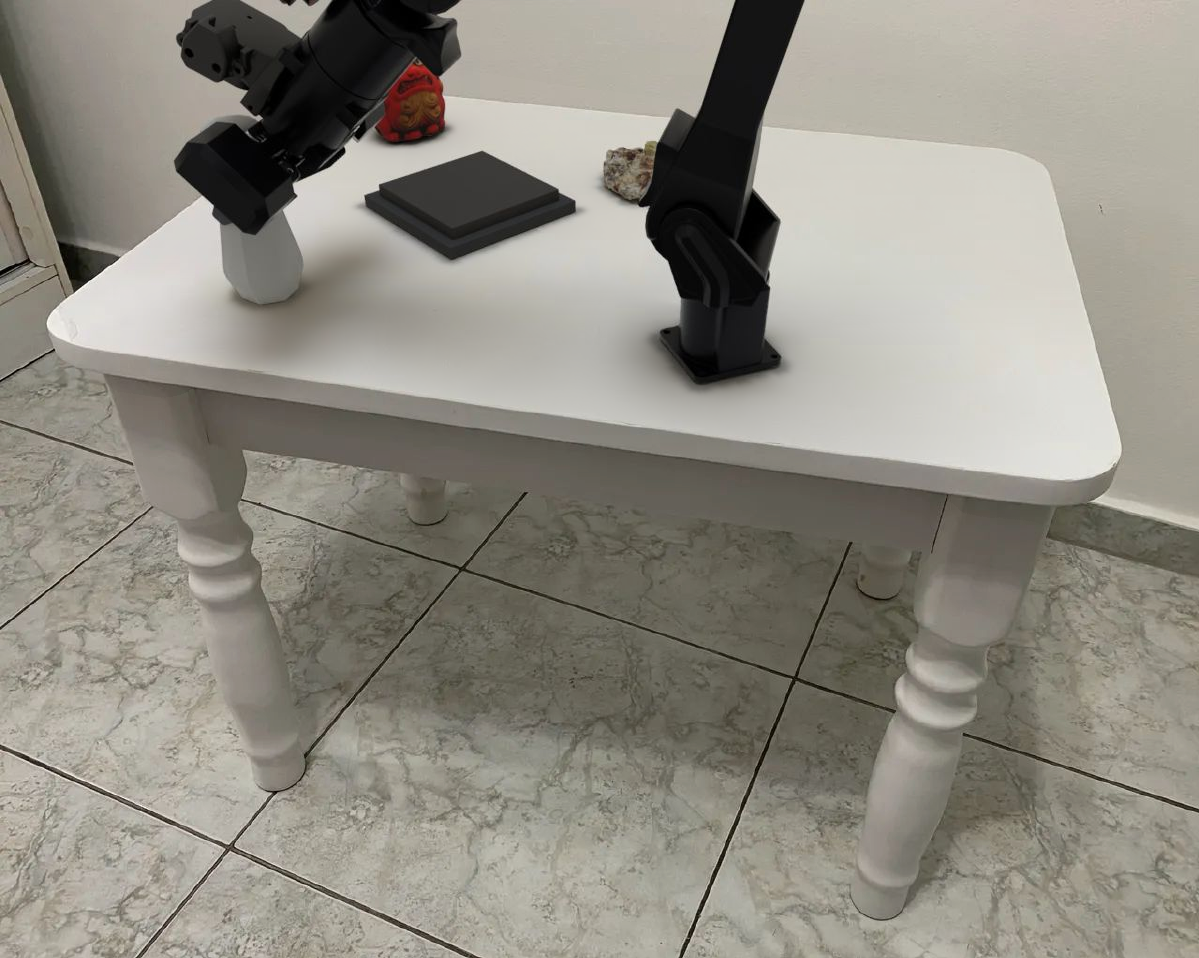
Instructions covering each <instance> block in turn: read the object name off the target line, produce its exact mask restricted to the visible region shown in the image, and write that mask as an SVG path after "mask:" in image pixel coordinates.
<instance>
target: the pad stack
mask: <svg viewBox="0 0 1199 958" xmlns="http://www.w3.org/2000/svg"><path fill="white" fill-rule="evenodd" d="M363 196H364V203H365V206H366V207H367V208H369V209H371V210H372V211H374V212H375V213H377V214H378V215H380V216H381V217H383V218H385V219H386V220H388V221H389V222H391V223H393V224H394V225H396V226H398V227H399V228H400V229H402V230H403V231H405V232H407V233H408V234H410V235H412V236H413V237H415V238H416V239H418V240H420V241H422V242H423V243H424V244H426V245H427V246H429V247H431V248H433V249H434V250H436V251H437V252H439V253H441V254H442V255H444V256H445V257H447V258H448V259H450V260H453V259H457V258H459V257H462V256H464V255H467V254H469V253H472V252H474V251H477V250H479V249H482V248H485V247H488V246H490V245H493V244H495V243H498V242H500V241H503V240H506V239H509V238H510V237H514V236H516V235H518V234H521V233H524V232H526V231H528V230H531V229H534V228H537V227H539V226H542V225H544V224H547V223H549V222H552V221H555V220H557V219H559V218H562V217H565V216H567V215H571V214H572V213H575V212H576V211H577V205H576V203H577V201H576V200H575V199H573V198H571V197H569V196H567V195H566V194H563V193H561V192H560V189H559V188H558V187H555V186H553V185H552V184H550V183H547V182H546V181H544V180H542V179H539V178H537V177H535V176H533V175H532V174H530V173H528V172H526V171H524V170H522V169H520V168H517V167H516V166H514V165H512V164H509V163H508V162H507V161H504V160H501V159H500V158H499V157H496V156H494V155H492V154H490V153H488V152H486V151H484V150H480V151H477V152H474V153H470V154H467V155H465V156H461V157H458V158H455V159H452V160H450V161H446V162H443V163H440V164H437V165H434V166H431V167H428V168H424V169H421V170H419V171H415V172H412V173H409V174H406V175H403V176H400V177H397V178H394V179H391V180H388V181H385V182H382V183H379V184H378V189H377V190H376V191H375V190H374V191H372V192H369V193H366V194H364V195H363Z"/></svg>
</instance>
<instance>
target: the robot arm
mask: <svg viewBox="0 0 1199 958" xmlns="http://www.w3.org/2000/svg"><path fill="white" fill-rule="evenodd" d="M296 1H297V0H279V2H280V3H281V4H282V5H287V6H288V7H291V6H292V5H293V4H294V3H296ZM302 1H303V2H304V3H305V4H306V5H307V6H308V7H312V6H314V5H315V4H317V3H318V2H319V1H320V0H302ZM462 1H463V0H330V2H329V3H328V4H327V6H326V7H325V8H324V10H323V11H322V12H321V14H320V15H319V16H318V18H317V19H316V21H315V22H314V23H313V24H312V26H311V27H310V28H309V29H308V30H307V31H306V32H304V34H303V35H302V36H301V37H300V36H299V35H297V34H296V33H295V32H293V31H291V30H289V29H288V28H287V26H286V25H285V24H283V23H282V22H280V21H278V20H276V19H274V18H273V17H272V16H269V15H267V14H266V13H264V12H262V11H261V10H259V9H257V8H255V7H254V6H252V5H250V4H249V3H246V2H245V1H243V0H209V1H207V2H205V3H203V4H201V5H199V6H198V7H196V8H194V9H193V10H192V11H191V15H190V17H189V18H186V19H185V22H184V27H183V29H182V30H181V31H179V32H178V33H177V34H176V36H175V40H176V43H177V45H178V46H179V47H180V48H181V49H180V59H181V61H182V62H183V64H184V65H185V67H187V68H188V69H189V70H191V71H193V72H195V73H196V74H199V75H201V76H203V77H204V78H206V79H208V80H210V81H212V82H213V83H216V84H218V83H221V82H223V81H224V82H226V83H228V84H229V85H230V86H233V87H235V88H237V89H239V90H243V91H246V92H245V94H244V95H243V97H242V98H241V100H240V101H239V103H240V105H242V106H243V107H244V108H245V110H247V111H248V112H249V113H250V114H251V115H252V116H253V117H258V116H259V117H260V118H261V119H259V120H257V121H258V122H257V123H256V124H254V125H253V126H252V127H250V128H249V129H248V130H247V131H246V132H244V131H243V130H242V129H241V128H240V127H239V126H238V125H237V124H236V123H227V122H217V121H216V122H215V123H214V124H212V125H211V126H209V127H208V128H206V129H205V130H203V131H202V132H201V133H200V132H199V133H197V134H196V135H195V136H193V137H192V138H190V139H189V140H188V141H186V143H185V144H184V146H183V147H182V148H181V150H180V151H179V153H178V154H177V155H176V156H175V158H174V160H173V164H174V169H175V172H176V173H177V174H178V175H179V176H180V177H181V178H183V180H185V182H187V183H188V184H189V185H190V186H191V187H193V188H194V190H196V191H197V192H198V194H199V195H201V196H202V197H203V198H205V199H206V201H207V202H209V203H210V204H211V205H212V206H213V207H212V211H211V216H212V217H213V218H214V220H216V221H217V222H218V223H219V224H220V223H221V224H222V225H228V224H231V223H233V224H234V225H235V226H237V227H238V228H239V229H240V230H241V231H242V232H243V233H246V234H251V235H256V234H258V233H259V232H260V231H261V230H262V229H263V228H264V227H265V226H266V225H267V224H269V223H270V222H271V221H272V220H273V219H274V218H275V217H276V216H277V215H278V214H279V213H280V212H281V211H282V210H283V211H284V209H286V208H287V207H288V206H289V205H290V204H292V202H293V201H294V200H295V199H297V198H298V194H297V193H296V192H295V188H294V184H296V183H298V182H300V181H303V180H305V179H307V178H310V177H312V176H314V175H316V174H319V173H321V172H323V171H325V170H327V169H329V168H331V167H332V166H333V165H334V164H335V163H337V162H338V161H339V160H340V159H341V158H342V157H343V156H344V155H345V154H346V152H347V150H346V147H345V146H347V144H349V143H350V142H351V140H352V139H353V140H354V142H356V143H357V144H358V143H360V142H361V141H362V140H363V139H364V138H365V137H366V136H367V135H368V134H370V133H371V132H372V131H373V130H374V129H375V126H376V125H377V124H378V123H379V121H380V120H381V119H382V118H383V117H384V116H385V109H384V100H385V99H386V98H387V97H388V96H389V93H388V91H389V90H390V89H391V87H392V86H393V85H394V84H395V83H396V82H397V80H398V79H399V78H400V77H401V76H402V75H403V73H404V72H405V71H406V70H407V69H408V67H409V66H410V65H411V64H412V63H413V62H414V60H415V59H416V58H417V59H418V60H419V61H420V62H421V63H422V64H423V65H424V66H425V67H426V68H427V69H428V70H429V71H430V72H431V73H432V74H433V75H434V76H436V77H439V78H440V77H441V76H443V75H444V74H445V73H447V71H448V70H450V68H451V67H453V66H454V65H455V64H456V63H457V62H458V61H459V60H460V59H461V58H462V49H461V45H460V40H459V38H458V33H457V32H458V30H457V28H458V23H459V22H458V21H457V19H456V18H455V17H443V16H441V14H445V13H447V12H448V11H449V10H451V9H452V8H453V7H455V6H457V5H458V4H459V3H460V2H462ZM805 1H806V0H734V1H733V6H732V8H731V12H730V14H729V18H728V20H727V24H726V27H725V31H724V34H723V36H722V40H721V43H720V46H719V49H718V52H717V56H716V58H715V61H714V65H713V68H712V71H711V73H710V78H709V80H708V84H707V86H706V90H705V92H704V93H705V94H704V96H703V100H702V103H701V105H700V107H699V109H698V110H697V113H696V115H695V116H693V115H691V114H689V113H688V112H687V111H684V110H683V109H680V108H675V109H674V111H673V113H672V115H671V116H670V118H669V120H668V123H666V124H667V125H666V126H665V128H664V130H663V132H662V133H661V136H660V137H659V139H658V141H657V142H658V143H657V146H656V151H655V157H654V165H653V174H652V177H651V179H650V181H649V183H648V185H647V187H646V189H645V191H644V193H643V195H642V197H641V199H639V201H638V203H637V206H638V207H639V208H648V210H647V212H646V215H645V221H644V229H645V235H646V238H647V239H648V240H649V241H650V243H651V244H652V246H653V248H654V250H655V251H656V252H657V253H658V254H659V255H660V256H661V257H662V258H663V259H664V260H665V261H667V263H668V266H669V269H670V272H671V275H672V278H673V280H674V285H675V287H676V291H677V292H678V295H679V298H680V308H679V325H675V326H669V327H665V328H662V329H660V331H659V339H660V340H661V341H662V343H663V344H664V345H665V346H666V347H667V349H668V350H669V352H671V354H672V356H673V357H674V358H675V359H676V360H677V361H678V362H679V363H680V365H681V366H682V367H683V368H684V370H685V371H686V373H687V374H688V375H689V376H690V377H691V379H692V380H693V381H694V382H696V383H701V384H703V383H707V382H712V381H716V380H720V379H725V378H730V377H733V376H734V377H735V376H738V375H743V374H747V373H751V372H755V371H759V370H763V369H767V368H772V367H777V366H779V365H781V364H782V363H781V362H782V355H781V354H780V353H779V352H778V350H776V349H775V347H774V346H773V345H772V344H770V342H769V341H768V340H767V339H766V338H765V336H766V327H767V319H768V311H769V302H770V294H771V286H770V278H771V271H770V266H771V262H772V258H773V255H774V251H775V246H776V243H777V239H778V235H779V232H780V227H781V224H782V221H781V218H780V217H779V216H778V215H777V213H776V212H775V211H774V210H773V209H772V208H771V207H770V206H769V204H768V203H767V202H766V201H765V200H764V199H763V198H762V197H761V196H760V195H759V193H758V192H757V191H756V190H755V189H754V181H755V175H756V171H757V165H758V159H759V153H760V148H761V140H762V132H763V125H764V118H765V111H766V108H767V105H768V103H769V100H770V97H771V95H772V92H773V89H774V86H775V83H776V81H777V78H778V75H779V72H780V70H781V67H782V64H783V62H784V58H785V55H786V53H787V49H788V48H789V45H790V42H791V39H792V37H793V34H794V31H795V28H796V25H797V23H798V21H799V17H800V16H801V15H800V14H801V12H802V10H803V7H804V3H805ZM265 138H266V140H265V141H263V142H262V140H264V139H265Z"/></svg>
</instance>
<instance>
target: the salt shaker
mask: <svg viewBox="0 0 1199 958" xmlns="http://www.w3.org/2000/svg"><path fill="white" fill-rule="evenodd" d="M216 121H217V122H227V123H236V124H237V125H238V126H239V127H240V128H241V129H242V130H243V131H244V132H246V131H247V130H248V129H249V128H250V127H252V126H253V125H254V124H256V123H257V122H258V121H259V120H257V119H256V118H254V117H252V116H250V115H247V114H226V115H222V116H217V117H215V118H212V119H209V120H208V121H206V122H205V123H204V125H202V127H201V128H200V130H199V133H201V132H202V131H203V130H205V129H206V128H208V127H209V126H211V125H212V124H214V123H215V122H216ZM265 140H266V138H265V139H264V140H262V142H263V141H265ZM219 232H220V233H219V234H220V245H221V261H222V262H221V263H222V264H221V265H222V272H223V274H224V277H225V279H226V280H227V281H228V282H229V283H230V284H231V286H232V287H233V288H234V289H235V291H236V292H237V293H238V294H239V296H240V297H241V298H242V299H243V300H246V301H249V302H251V303H254V304H256V305H259V306H261V305H268V304H274V303H278V302H279V303H280V302H285V301H286V300H288V299H290V297H291V296H293V294H294V293H296V292H297V291H298V290H299V287H300V282H301V278H302V274H303V269H304V259H303V254H302V251H301V249H300V246H299V244H298V242H297V239H296V237H295V234H294V232H293V230H292V228H291V225H290V223H289V221H288V219H287V216H286V214H285V211H284V209H283V210H282V211H281V212H280V213H279V214H278V215H277V216H276V217H275V218H274V219H273V220H272V221H271V222H270V223H269V224H267V225H266V226H265V227H264V228H263V229H262V230H261V231H260V232H259V233H258V234H256V235H251V234H246V233H243V232H242V231H241V230H240V229H239V228H238V227H237V226H235V225H234V224H233V223H231V224H228V225H222V224H221V223H220V222H219Z"/></svg>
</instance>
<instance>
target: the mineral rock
mask: <svg viewBox="0 0 1199 958" xmlns="http://www.w3.org/2000/svg"><path fill="white" fill-rule="evenodd" d="M657 143H658V141H656V140H648V141H646V142H645V144H644V148H643V147H635V148H626V147H624V146H622V147H618V148H616V149H614V150H613V149H610V148H609V149H608V150H607V151H606V152H605V160H604V161H603V165H602V166H603V167H602V168H603V170H602V171H603V178H604V180H603V181H604V182H603V183H604V184H605V186H606V187H607V188H608V189H611V191H613V192H615V193H617V194H619V195H621V196H622V197H623V198H624V199H626V200H628V201H633V200H640V199H641V197H642V195H643V193H644V191H645V189H646V187H647V185H648V183H649V181H650V179H651V177H652V174H653V165H654V157H655V151H656V146H657Z"/></svg>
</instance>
